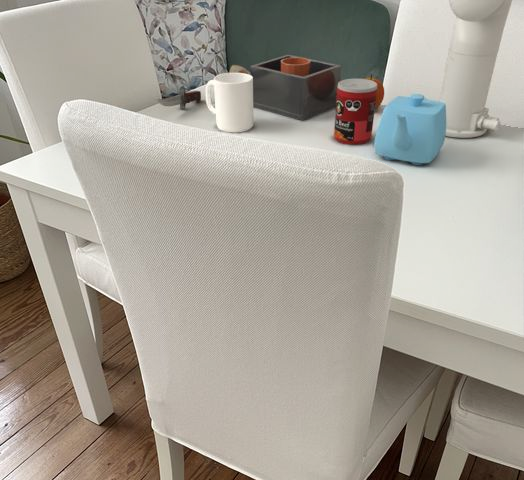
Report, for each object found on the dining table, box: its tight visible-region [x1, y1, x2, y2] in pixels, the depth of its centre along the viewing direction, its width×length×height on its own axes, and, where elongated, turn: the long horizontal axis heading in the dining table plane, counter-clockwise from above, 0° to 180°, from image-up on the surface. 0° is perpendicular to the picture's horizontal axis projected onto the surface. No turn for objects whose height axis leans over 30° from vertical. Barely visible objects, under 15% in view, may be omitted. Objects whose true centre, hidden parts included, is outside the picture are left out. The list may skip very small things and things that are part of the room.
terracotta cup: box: [281, 56, 311, 77], centre depth 134 cm, size 7×7×9 cm
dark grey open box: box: [249, 54, 342, 122], centre depth 135 cm, size 16×14×9 cm
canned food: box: [333, 78, 377, 146], centre depth 117 cm, size 8×8×11 cm
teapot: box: [373, 93, 447, 166], centre depth 109 cm, size 12×18×12 cm
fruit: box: [364, 73, 385, 110], centre depth 133 cm, size 7×7×8 cm
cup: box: [205, 72, 255, 133], centre depth 125 cm, size 8×12×10 cm
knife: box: [156, 87, 202, 110], centre depth 134 cm, size 17×1×5 cm, turn 152°
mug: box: [228, 64, 250, 75], centre depth 143 cm, size 8×10×10 cm
